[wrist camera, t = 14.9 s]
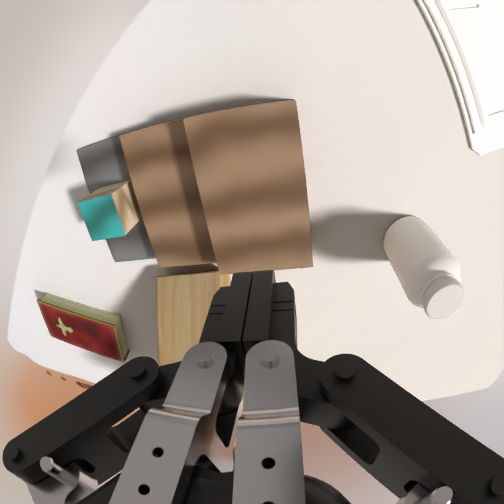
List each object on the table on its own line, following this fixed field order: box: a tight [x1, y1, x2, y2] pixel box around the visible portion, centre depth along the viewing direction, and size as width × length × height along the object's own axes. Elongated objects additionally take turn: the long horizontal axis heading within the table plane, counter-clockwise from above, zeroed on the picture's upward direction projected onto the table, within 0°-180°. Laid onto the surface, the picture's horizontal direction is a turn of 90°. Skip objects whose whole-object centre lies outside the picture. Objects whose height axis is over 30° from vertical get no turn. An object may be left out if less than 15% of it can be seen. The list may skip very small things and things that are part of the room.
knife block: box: [157, 270, 244, 471], centre depth 42 cm, size 11×35×31 cm, turn 11°
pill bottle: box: [383, 216, 464, 319], centre depth 34 cm, size 8×8×15 cm
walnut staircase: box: [77, 99, 313, 275], centre depth 38 cm, size 20×32×6 cm, turn 99°
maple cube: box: [78, 180, 142, 241], centre depth 39 cm, size 6×6×6 cm
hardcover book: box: [37, 293, 130, 362], centre depth 56 cm, size 12×21×4 cm, turn 81°
